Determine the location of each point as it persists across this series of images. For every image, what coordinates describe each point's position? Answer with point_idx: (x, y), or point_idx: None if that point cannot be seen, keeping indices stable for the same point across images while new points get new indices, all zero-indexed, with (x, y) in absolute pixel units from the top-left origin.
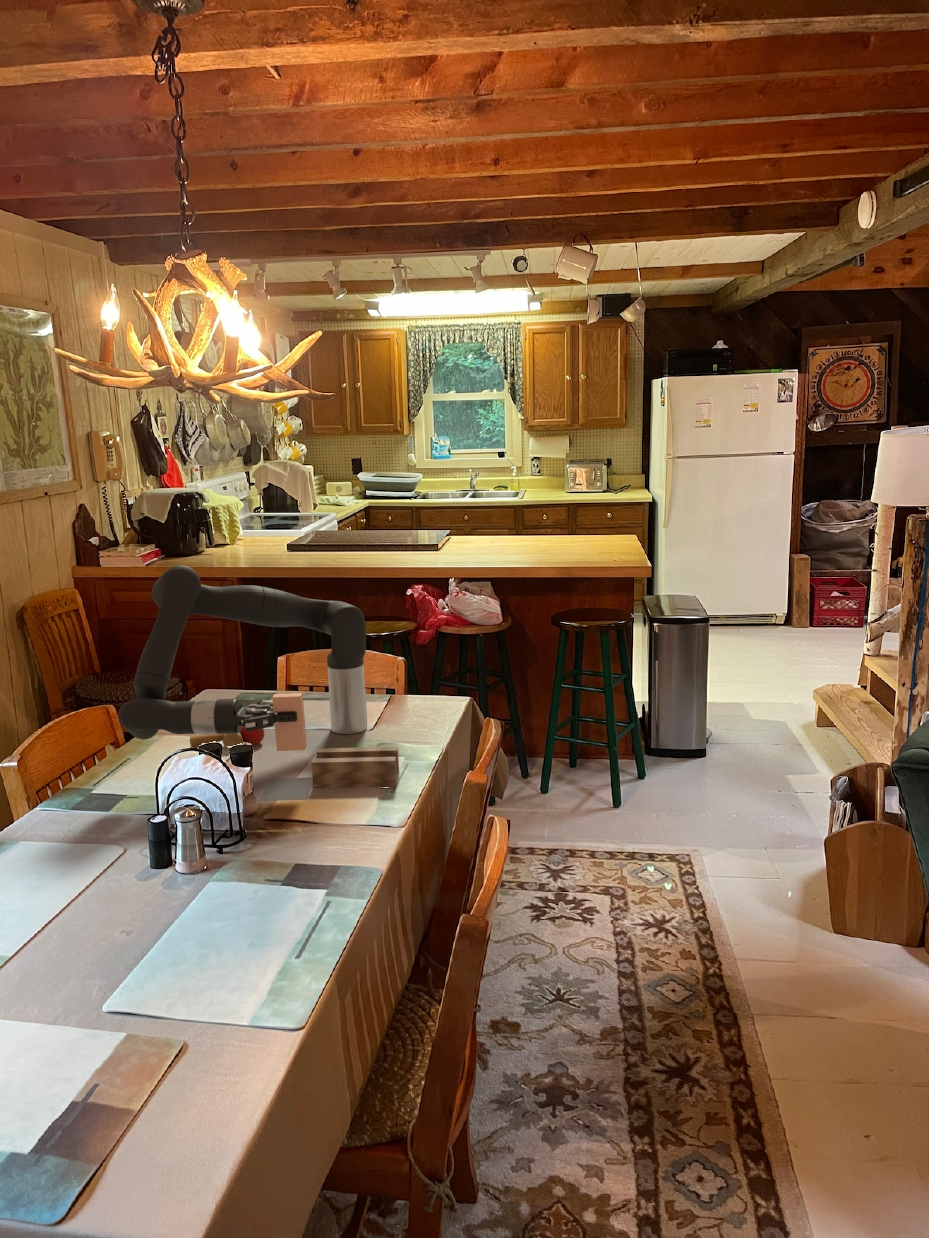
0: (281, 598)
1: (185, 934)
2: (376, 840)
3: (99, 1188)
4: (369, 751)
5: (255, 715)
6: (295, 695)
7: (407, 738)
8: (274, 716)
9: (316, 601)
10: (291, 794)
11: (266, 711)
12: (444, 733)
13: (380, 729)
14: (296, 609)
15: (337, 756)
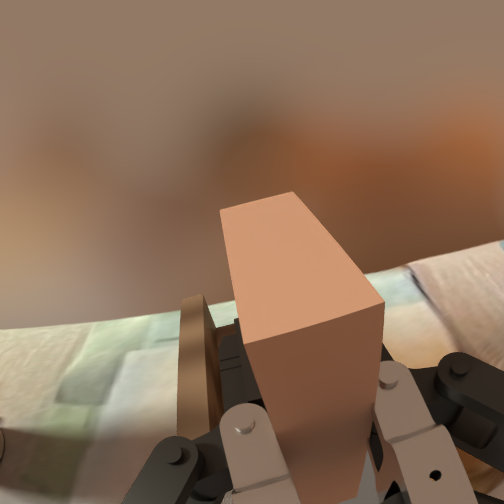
0: None
1: None
2: (456, 270)
3: None
4: (204, 332)
5: (487, 496)
6: (278, 210)
7: (52, 366)
8: (428, 369)
9: None
10: (367, 484)
11: (425, 429)
12: (55, 329)
13: (4, 407)
14: None
15: (211, 400)
